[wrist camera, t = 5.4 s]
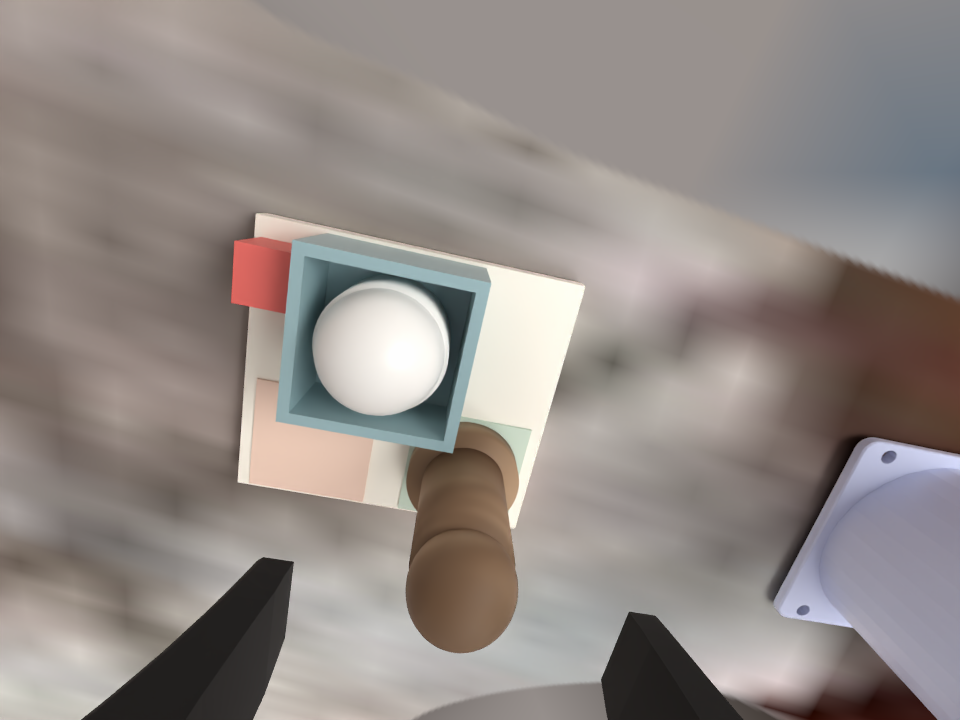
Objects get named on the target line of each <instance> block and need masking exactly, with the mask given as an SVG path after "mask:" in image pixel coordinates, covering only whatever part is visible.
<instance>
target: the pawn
mask: <svg viewBox="0 0 960 720" xmlns="http://www.w3.org/2000/svg"><path fill="white" fill-rule="evenodd" d="M406 487H407V493H408V496H409V499H410V501H411V503H412V505H413V506H414V508H415V509H416V511H417V516H416V523H415V529H414V536H413V542H412V548H411V555H410V561H409V572H408V576H407V581H406V603H407V608H408V611H409V614H410V617H411V619H412V621H413V623H414V625H415V627H416V628H417V630H418V631H419V632H420V634H421V635H422V636H423V637H424V638H425V639H426V640H427V641H429V642H430V643H431V644H433V645H434V646H436V647H438V648H440V649H442V650H445V651H448V652H453V653H469V652H474V651H477V650H480V649H482V648H484V647H486V646H488V645H490V644H491V643H492V642H494V641H495V640H496V639H497V638H498V637H499V636H500V635H501V634H502V633H503V632H504V630H505V629H506V628H507V626H508V625H509V623H510V621H511V619H512V617H513V614H514V611H515V608H516V604H517V598H518V580H517V575H516V571H515V558H514V551H513V544H512V537H511V530H510V523H509V516H508V510H509V509H510V508H511V506H512V505H513V503H514V501H515V499H516V496H517V493H518V489H519V474H518V469H517V464H516V460H515V456H514V453H513V451H512V449H511V447H510V445H509V444H508V443H507V441H506V440H505V439H504V438H503V437H502V436H501V435H500V434H499V433H497V432H496V431H494V430H493V429H491V428H489V427H487V426H484V425H481V424H477V423H472V422H460V423H459V428H458V432H457V436H456V441H455V445H454V450H453V453H447V452H442V451H436V450H431V449H425V448H420V447H415V448H414V451H413V453H412V455H411V459H410V463H409V467H408V472H407V478H406Z"/></svg>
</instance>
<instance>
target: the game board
mask: <svg viewBox="0 0 960 720" xmlns="http://www.w3.org/2000/svg"><path fill="white" fill-rule="evenodd" d="M326 233H330V234H334V235H339V236H343V237H348V238H352V239H357V240H361V241H366V242H370V243H375V244H379V245H384V246H388V247H393V248H398V249H402V250H407V251H411V252H416V253H420V254H425V255H429V256H434V257H438V258H443V259H447V260H452V261H456V262H461V263H466V264H470V265H475V266H479V267H484V268H487V271H488V274H489V277H490V280H491V287H490V292H489V296H488V301H487V305H486V309H485V314H484V318H483V322H482V327H481V331H480V336H479V340H478V344H477V349H476V353H475V358H474V362H473V366H472V371H471V375H470V379H469V384H468V388H467V393H466V397H465V401H464V406H463V410H462V414H461V419H460V422H472V423H477V424H481V425H484V426H487V427H489V428H491V429H493V430H494V431H496V432H497V433H499V434H500V435H501V436H502V437H503V438H504V439H505V440H506V441H507V443H508V444H509V445H510V447H511V449H512V451H513V453H514V456H515V460H516V464H517V469H518V474H519V489H518V493H517V496H516V499H515V501H514V503H513V505H512V506H511V508H510V509H509V510H508V516H509V523H510V528H514V529H515V527H516V523H517V520H518V516H519V513H520V509H521V506H522V503H523V499H524V496H525V492H526V489H527V485H528V482H529V479H530V475H531V472H532V468H533V465H534V462H535V458H536V455H537V451H538V448H539V444H540V441H541V438H542V434H543V431H544V427H545V424H546V420H547V417H548V414H549V410H550V407H551V403H552V400H553V396H554V393H555V390H556V386H557V383H558V379H559V376H560V372H561V369H562V366H563V362H564V359H565V355H566V352H567V348H568V345H569V342H570V338H571V335H572V331H573V328H574V324H575V321H576V318H577V314H578V311H579V307H580V304H581V300H582V297H583V294H584V290H585V287H586V286H584V285H583V284H581V283H580V282H576V281H571V280H567V279H562V278H558V277H553V276H549V275H544V274H540V273H535V272H530V271H526V270H521V269H517V268H512V267H508V266H503V265H499V264H494V263H490V262H485V261H481V260H476V259H472V258H467V257H463V256H458V255H454V254H449V253H445V252H440V251H436V250H431V249H427V248H422V247H418V246H413V245H409V244H404V243H400V242H395V241H391V240H386V239H382V238H377V237H373V236H368V235H364V234H359V233H355V232H350V231H346V230H341V229H337V228H332V227H328V226H323V225H319V224H314V223H310V222H305V221H301V220H296V219H292V218H287V217H283V216H278V215H274V214H269V213H256V217H255V232H254V238H250V239H243V240H237V241H234V258H233V277H232V295H231V303H234V304H239V305H244V306H249V321H248V336H247V351H246V366H245V380H244V395H243V410H242V425H241V440H240V455H239V469H238V482H239V483H245V484H251V485H257V486H263V487H269V488H275V489H281V490H287V491H293V492H299V493H305V494H311V495H317V496H323V497H329V498H335V499H341V500H347V501H353V502H359V503H365V504H371V505H377V506H383V507H389V508H395V509H401V510H407V511H413V512H417V511H416V509H415V508H414V506H413V505H412V503H411V501H410V499H409V496H408V493H407V487H406V478H407V472H408V467H409V463H410V459H411V455H412V453H413V451H414V448H415V447H414V446H409V445H403V444H397V443H392V442H386V441H381V440H375V439H370V438H364V437H359V436H353V435H348V434H342V433H337V432H331V431H325V430H320V429H314V428H309V427H303V426H298V425H292V424H287V423H281V422H276V411H277V401H278V390H279V379H280V368H281V357H282V346H283V336H284V325H285V314H286V303H287V292H288V281H289V271H290V260H291V249H292V240H294V239H299V238H305V237H310V236H315V235H321V234H326Z"/></svg>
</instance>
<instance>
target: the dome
mask: <svg viewBox="0 0 960 720" xmlns="http://www.w3.org/2000/svg"><path fill="white" fill-rule="evenodd" d="M450 342H451V329H450V323H449V319H448V316H447V314H446V311H445V309H444V308H443V306H442V304H441V302H440V301H439V300H438V299H437V297H436V296H435V295H434V294H433V293H432V292H431V291H430V290H429V289H427V288H426V287H425V286H423V285H422V284H420V283H418V282H416V281H414V280H412V279H409V278H404V277H400V276H395V275H376V276H372V277H368V278H366V279H363V280H361V281H359V282H358V283H356V284H354V285H353V286H351V287H350V288H348V289H347V290H345V291H344V292H343V293H341V294H340V295H338V296H337V297H336V298H334V299H333V300H332V301H331V302H330V303H329V304H328V305H327V306H326V307H325V309H324V310H323V311H322V313H321V314H320V316H319V318H318V320H317V323H316V326H315V329H314V333H313V340H312V350H313V357H314V363H315V368H316V371H317V374H318V376H319V379H320V380H321V382H322V384H323V386H324V387H325V388H326V390H327V391H328V392H329V393H330V395H331V396H332V397H333V398H334V399H336V400H337V401H338V402H339V403H341V404H342V405H344V406H345V407H347V408H349V409H351V410H353V411H356V412H358V413H362V414H366V415H373V416H386V415H393V414H397V413H400V412H403V411H406V410H408V409H410V408H413V407H415V406H417V405H419V404H420V403H422V402H423V401H425V400H426V399H427V398H428V397H429V396H431V395H432V394H433V393H434V391H435V390H436V389H437V388H438V386H439V385H440V383H441V381H442V379H443V377H444V375H445V373H446V369H447V366H448V359H449V351H450Z"/></svg>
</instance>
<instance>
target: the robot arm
mask: <svg viewBox="0 0 960 720" xmlns="http://www.w3.org/2000/svg"><path fill="white" fill-rule="evenodd" d="M885 452H886V453H885ZM884 453H885V454H884ZM883 454H884V456H882V455H883ZM293 564H294V562H292V561H285V560H278V559H272V558H265V557H263V558H261V559H260V560H258V561H257V562H256V563H255V564H254V565H253V566H252V567H251V568H250V569H249V570H248V571H247V572H246V573H245V574H244V575H243V576H242V577H241V578H240V579H239V580H238V581H237V582H236V583H235V584H234V585H233V586H232V587H231V588H230V589H229V590H228V591H227V592H226V593H225V594H224V595H223V596H222V597H221V598H220V599H219V600H218V601H217V602H216V603H215V604H214V605H213V606H212V607H211V608H210V609H209V610H208V611H207V612H206V613H205V614H204V615H203V616H201V617H200V618H199V619H198V620H197V621H196V622H195V623H194V624H193V625H192V626H191V627H189V628H188V629H187V630H186V631H185V632H184V633H183V634H182V635H181V636H180V637H179V638H177V639H176V640H175V641H174V642H173V643H172V644H171V645H170V646H169V647H168V648H166V649H165V650H164V651H163V652H162V653H161V654H160V655H159V656H157V657H156V658H155V659H154V660H153V661H152V662H150V663H149V664H148V665H147V666H146V667H144V668H143V669H142V670H141V671H140V672H139V673H137V674H136V675H135V676H134V677H133V678H131V679H130V680H129V681H128V682H127V683H126V684H124V685H123V686H122V687H121V688H120V689H118V690H117V691H116V692H115V693H114V694H113V695H111V696H110V697H109V698H108V699H106V700H105V701H104V702H103V703H102V704H100V705H99V706H98V707H97V708H95V709H94V710H93V711H92V712H90V713H89V714H88V715H87V716H85V717H84V718H83V719H81V720H253V718H254V716H255V714H256V712H257V709H258V707H259V705H260V703H261V701H262V699H263V696H264V694H265V691H266V689H267V686H268V683H269V680H270V678H271V675H272V672H273V670H274V667H275V664H276V661H277V658H278V656H279V653H280V650H281V647H282V644H283V641H284V639H285V632H286V624H287V615H288V607H289V598H290V590H291V581H292V573H293ZM773 604H774V607H775V609H776V610H777V611H778V612H779V614H780V615H781V616H784V617H788V618H794V619H800V620H807V621H813V622H819V623H826V624H832V625H838V626H845V627H851V628H854V629H855V630H856V631H857V632H858V633H859V634H860V635H861V637H862V638H863V639H864V640H865V641H866V642H867V643H868V644H869V645H870V646H871V647H872V648H873V650H874V651H875V652H876V653H877V654H878V655H879V656H880V657H881V658H882V659H883V660H884V662H885V663H886V664H887V665H888V666H889V667H890V668H891V669H892V670H893V671H894V672H895V673H896V675H897V676H898V677H899V678H900V679H901V680H902V681H903V682H904V683H905V684H906V685H907V687H908V688H909V689H910V690H911V691H912V692H913V693H914V694H915V695H916V696H917V697H918V698H919V700H920V701H921V702H922V703H923V704H924V705H925V706H926V707H927V708H928V709H929V710H930V712H931V713H932V714H933V715H934V716H935V717H936V718H937V719H938V720H960V454H955V453H950V452H945V451H940V450H935V449H930V448H925V447H920V446H915V445H910V444H905V443H900V442H895V441H890V440H885V439H880V438H875V437H869V438H866V439H863V440H861V441H860V442H859V443H858V444H857V445H856V446H855V448H854V450H853V452H852V454H851V456H850V458H849V460H848V461H847V463H846V465H845V467H844V469H843V471H842V473H841V475H840V477H839V478H838V480H837V482H836V484H835V486H834V488H833V490H832V492H831V494H830V495H829V497H828V499H827V501H826V503H825V505H824V507H823V509H822V511H821V512H820V514H819V516H818V518H817V520H816V522H815V524H814V526H813V528H812V529H811V531H810V533H809V535H808V537H807V539H806V541H805V543H804V545H803V546H802V548H801V550H800V552H799V554H798V556H797V558H796V560H795V562H794V563H793V565H792V567H791V569H790V571H789V573H788V575H787V577H786V579H785V580H784V582H783V584H782V586H781V588H780V590H779V592H778V594H777V596H776V597H775V599H774V603H773ZM601 682H602V688H603V694H604V700H605V707H606V713H607V718H608V720H743V719H742V718H741V716H740V715H739V714H738V713H737V712H736V711H735V710H734V708H733V707H732V706H731V705H730V704H729V702H728V701H727V700H726V699H725V698H724V697H723V695H722V694H721V693H720V692H719V691H718V689H717V688H716V687H715V686H714V685H713V684H712V682H711V681H710V680H709V679H708V678H707V676H706V675H705V674H704V673H703V672H702V670H701V669H700V668H699V667H698V666H697V664H696V663H695V662H694V661H693V660H692V658H691V657H690V656H689V655H688V653H687V652H686V651H685V650H684V649H683V647H682V646H681V645H680V644H679V643H678V641H677V640H676V639H675V638H674V637H673V636H672V634H671V633H670V632H669V631H668V630H667V628H666V627H665V626H664V625H663V624H662V623H661V622H660V620H659V619H658V618H657V617H656V616H653V615H647V614H640V613H633V612H629V613H628V616H627V618H626V620H625V623H624V625H623V628H622V630H621V633H620V635H619V637H618V640H617V642H616V645H615V647H614V650H613V652H612V654H611V657H610V659H609V662H608V664H607V667H606V669H605V672H604V674H603V676H602V679H601Z"/></svg>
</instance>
